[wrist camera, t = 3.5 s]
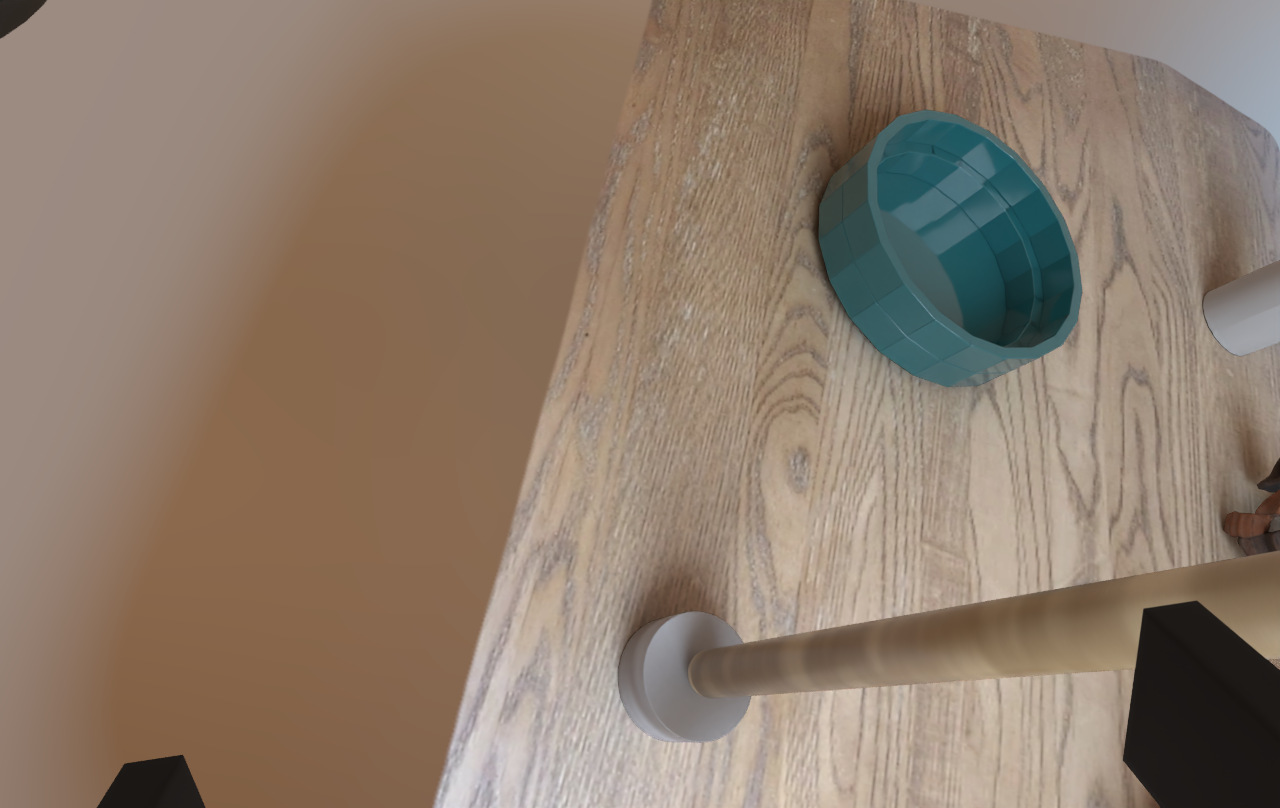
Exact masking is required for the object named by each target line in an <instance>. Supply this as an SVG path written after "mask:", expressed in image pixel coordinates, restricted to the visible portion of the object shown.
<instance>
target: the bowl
mask: <svg viewBox="0 0 1280 808" xmlns="http://www.w3.org/2000/svg"><path fill="white" fill-rule="evenodd" d="M819 244H820V247H821V251H822V255H823V258H824V262H825V266H826V270H827V273H828V277H829V279H830V280H829V281H830V283H831V285H832V286H833V288H834V290H835V292H836V294H837V296H838V297H839V299H840V301H841V303H842V305H843V307H844V308H845V310H846V312H847V314H848V316H849V318H851V320H852V321H853V322H854V323H855V325H856V326H857V327H858V328H859V329H860V330H861V331H862V332H863V334H864V335H865V336H866V337H867V338H868V339H869V340H870V342H871V343H872V344H873V345H874V346H875V347H876V348H877V349H878V351H880V352H881V353H882V354H883V355H885V356H886V357H888V358H889V359H891V360H892V361H893V362H895V363H896V364H898V365H899V366H901V367H902V368H903V369H905V370H906V371H908V372H909V373H911V374H912V375H914V376H916V377H919V378H922V379H925V380H928V381H931V382H934V383H937V384H940V385H943V386H946V387H963V386H979V385H981V384H984V383H986V382H988V381H990V380H992V379H994V378H997V377H999V376H1001V375H1003V374H1005V373H1007V372H1010V371H1012V370H1014V369H1016V368H1018V367H1020V366H1023V365H1025V364H1027V363H1029V362H1031V361H1034V360H1036V359H1038V358H1040V357H1042V356H1043V355H1045V354H1047V353H1049V352H1051V351H1053V350H1055V349H1056V348H1058V347H1060V346H1062V345H1063V343H1064V342H1065V340H1066V339H1067V337H1068V335H1069V334H1070V332H1071V331H1072V329H1073V328H1074V326H1075V324H1076V323H1077V321H1078V314H1079V308H1080V302H1081V296H1082V284H1081V276H1080V268H1079V260H1078V256H1077V252H1076V249H1075V246H1074V244H1073V241H1072V238H1071V235H1070V233H1069V230H1068V227H1067V224H1066V222H1065V220H1064V217H1063V216H1062V214H1061V212H1060V211H1059V209H1058V207H1057V206H1056V204H1055V202H1054V200H1053V199H1052V197H1051V195H1050V194H1049V192H1048V190H1047V189H1046V187H1045V185H1044V184H1043V183H1042V182H1041V181H1040V179H1039V178H1038V177H1037V176H1036V175H1035V174H1034V172H1033V171H1032V170H1031V169H1030V168H1029V167H1028V165H1027V164H1026V163H1025V162H1024V161H1023V160H1022V158H1021V157H1020V156H1019V155H1018V154H1017V153H1016V152H1015V151H1013V150H1012V149H1011V148H1010V147H1008V146H1007V145H1006V144H1005V143H1003V142H1002V141H1001V140H1000V139H998V138H997V137H996V136H995V135H993V134H992V133H991V132H990V131H987V130H986V129H984V128H982V127H980V126H978V125H976V124H974V123H972V122H970V121H968V120H966V119H964V118H962V117H960V116H958V115H955V114H949V113H944V112H938V111H932V110H922V111H918V112H913V113H909V114H905V115H900V116H898V117H897V118H896V119H894V120H893V121H892V122H891V123H890V124H889V125H888V126H887V127H885V128H884V129H883V130H882V131H881V132H880V133H879V134H878V135H876V136H875V137H874V138H873V139H872V140H871V141H870V142H869V143H868V144H867V145H865V146H864V147H863V148H862V149H861V150H860V151H859V152H858V153H857V154H856V155H855V156H853V157H852V158H851V159H850V160H849V161H848V162H847V163H846V164H845V165H844V166H843V167H841V168H840V169H839V170H838V171H837V172H836V173H835V174H834V175H833V176H832V177H831V178H830V181H829V183H828V186H827V188H826V191H825V193H824V196H823V198H822V200H821V203H820V205H819Z"/></svg>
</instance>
